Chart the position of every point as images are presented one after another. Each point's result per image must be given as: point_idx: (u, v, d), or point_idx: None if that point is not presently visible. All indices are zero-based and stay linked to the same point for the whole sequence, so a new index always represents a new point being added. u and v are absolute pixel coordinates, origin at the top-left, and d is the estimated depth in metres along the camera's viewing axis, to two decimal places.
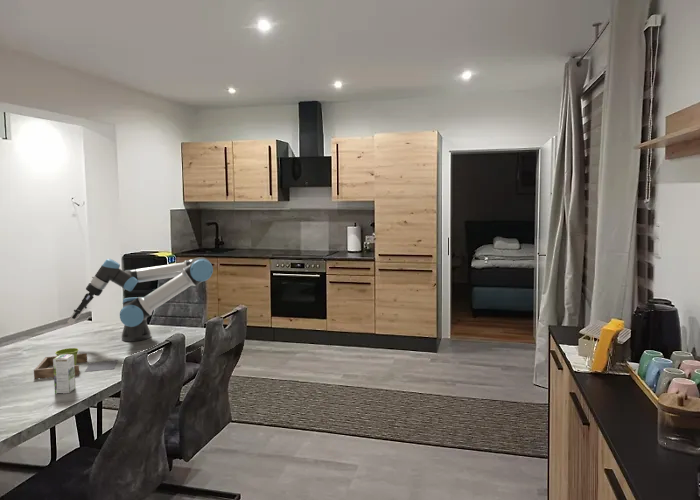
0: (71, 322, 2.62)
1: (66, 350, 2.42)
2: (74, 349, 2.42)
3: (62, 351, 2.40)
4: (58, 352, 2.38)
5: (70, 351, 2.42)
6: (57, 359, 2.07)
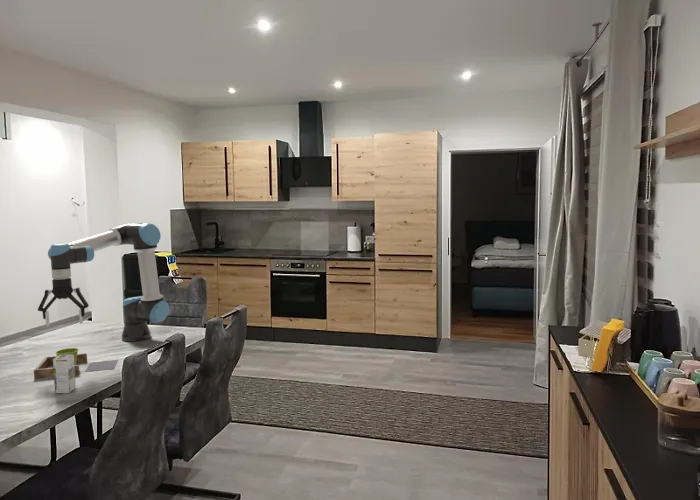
0: (82, 320, 2.39)
1: (66, 350, 2.42)
2: (74, 349, 2.42)
3: (62, 351, 2.40)
4: (58, 352, 2.38)
5: (70, 351, 2.42)
6: (57, 359, 2.07)
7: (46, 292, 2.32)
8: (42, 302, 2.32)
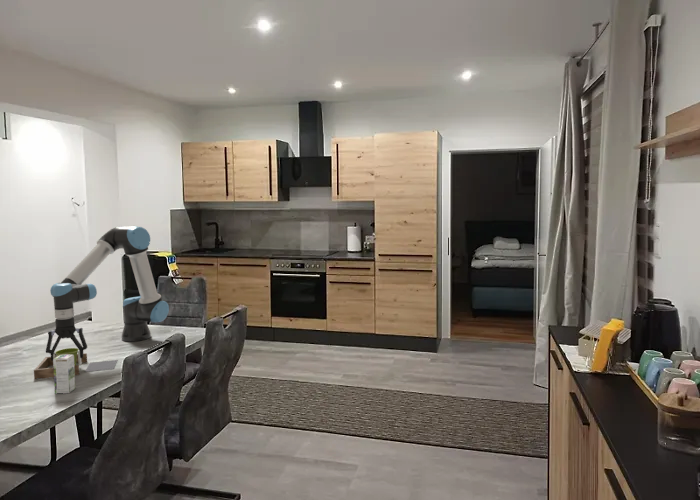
0: (81, 362, 2.41)
1: (66, 350, 2.42)
2: (74, 349, 2.42)
3: (62, 351, 2.40)
4: (58, 352, 2.38)
5: (70, 351, 2.42)
6: (57, 359, 2.07)
7: (50, 333, 2.34)
8: (48, 344, 2.34)
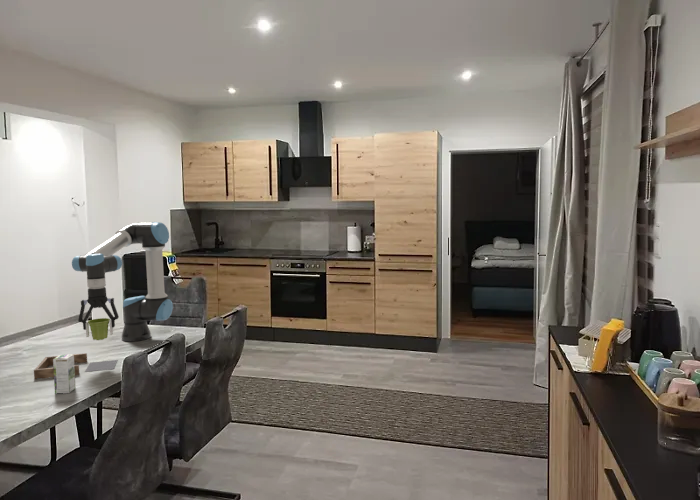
0: (112, 332, 2.43)
1: (97, 320, 2.44)
2: (105, 319, 2.45)
3: (94, 321, 2.43)
4: (90, 322, 2.41)
5: (101, 321, 2.45)
6: (57, 359, 2.07)
7: (82, 303, 2.37)
8: (81, 313, 2.37)
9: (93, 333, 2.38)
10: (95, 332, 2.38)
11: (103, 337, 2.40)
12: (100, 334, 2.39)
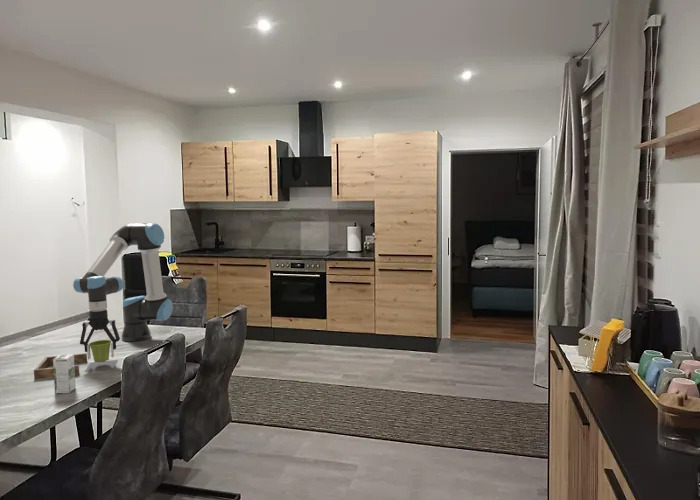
0: (113, 353, 2.44)
1: (99, 342, 2.45)
2: (107, 341, 2.46)
3: (95, 343, 2.44)
4: (91, 344, 2.42)
5: (103, 343, 2.46)
6: (57, 359, 2.07)
7: (84, 325, 2.38)
8: (82, 335, 2.38)
9: (94, 355, 2.39)
10: (97, 355, 2.39)
11: (104, 359, 2.41)
12: (102, 357, 2.40)
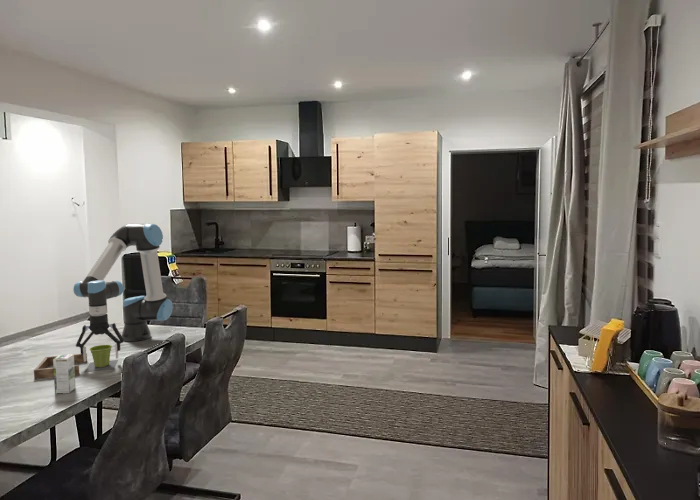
0: None
1: (99, 347, 2.46)
2: (107, 346, 2.46)
3: (96, 348, 2.45)
4: (92, 349, 2.43)
5: (103, 348, 2.46)
6: (57, 359, 2.07)
7: (84, 328, 2.38)
8: (80, 338, 2.38)
9: (95, 360, 2.40)
10: (97, 360, 2.39)
11: (105, 364, 2.41)
12: (102, 361, 2.40)
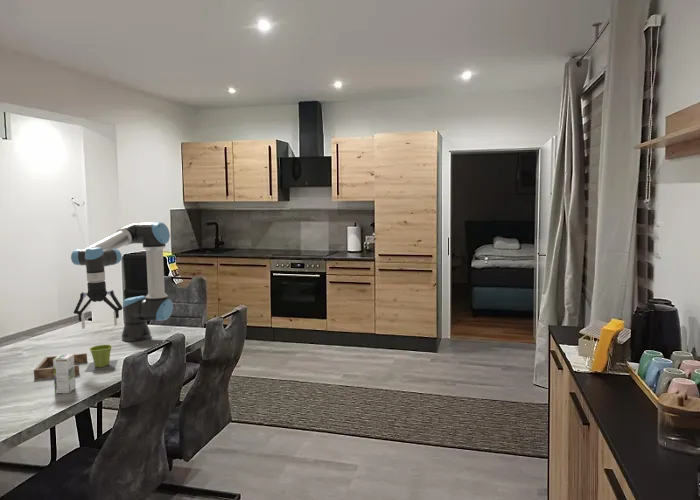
0: (116, 322, 2.44)
1: (99, 347, 2.46)
2: (107, 346, 2.46)
3: (96, 348, 2.45)
4: (92, 349, 2.43)
5: (103, 348, 2.46)
6: (57, 359, 2.07)
7: (82, 295, 2.37)
8: (78, 305, 2.37)
9: (95, 360, 2.40)
10: (97, 360, 2.39)
11: (105, 364, 2.41)
12: (102, 361, 2.40)
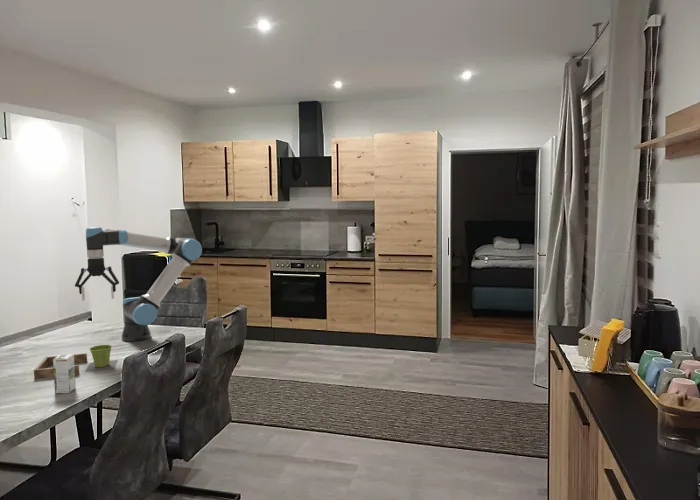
0: (113, 296, 2.68)
1: (99, 347, 2.46)
2: (107, 346, 2.46)
3: (95, 348, 2.45)
4: (92, 349, 2.43)
5: (103, 348, 2.46)
6: (57, 359, 2.07)
7: (82, 270, 2.61)
8: (79, 279, 2.61)
9: (95, 360, 2.40)
10: (97, 360, 2.39)
11: (105, 364, 2.41)
12: (102, 361, 2.40)
